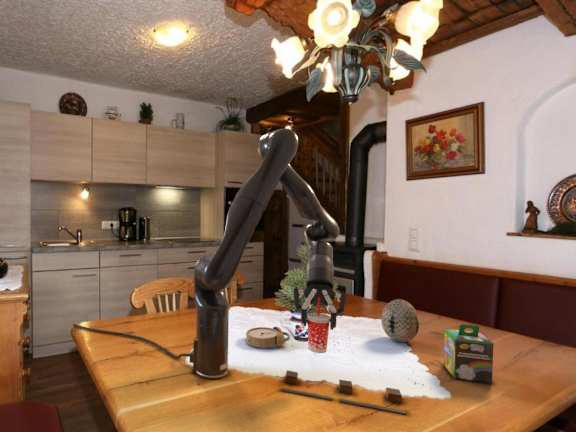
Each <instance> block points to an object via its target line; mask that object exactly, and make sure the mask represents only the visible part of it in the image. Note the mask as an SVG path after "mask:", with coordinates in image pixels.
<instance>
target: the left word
mask: <svg viewBox="0 0 576 432" xmlns="http://www.w3.org/2000/svg"><path fill="white" fill-rule="evenodd" d="M298 381H299V372H298V371H294V370H293V371H292V370H286V372H285V383H288V384H293V385H298V383H299V382H298ZM281 392H284V393H289V394H295V395H301V396H305V397H311V398H316V399H321V400H326V401H333V397H331V396H327V395H319V394H316V393H311V392H305V391H299V390H295V389H289V388H281Z"/></svg>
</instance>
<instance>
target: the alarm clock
mask: <svg viewBox="0 0 576 432" xmlns="http://www.w3.org/2000/svg"><path fill="white" fill-rule="evenodd" d="M245 335H246V343H247V344H248V345H249V346H251V347H255V348H263V349H264V348H272V347H273V348H274V347H276V346H277V347H278V348H281V347H283V346H284V345H285V342H287V341H289V340H290V339H291V335H290V334H289V333H288V332H286V331H282V329H281V327H278V326H273V327H268V326H267V327H266V326H259V327H258V326H257V327H253V328H250V329H248V330H247V331H246V333H245ZM285 336H286V337H285Z"/></svg>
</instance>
